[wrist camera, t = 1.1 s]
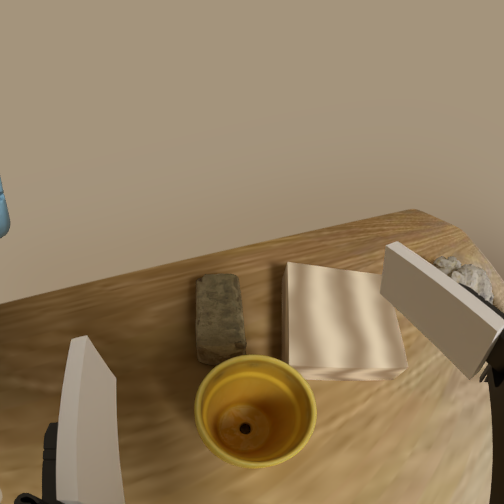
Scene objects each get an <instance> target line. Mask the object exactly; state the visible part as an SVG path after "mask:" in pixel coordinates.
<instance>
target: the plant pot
mask: <svg viewBox="0 0 504 504" xmlns="http://www.w3.org/2000/svg"><path fill="white" fill-rule="evenodd" d="M194 416H195V423H196V427H197V430H198V433H199V435H200V437H201V439H202V441H203V442H204V444H205V445H206V447H207V448H208V449H209V450H210V451H211V452H212V453H213V454H214V455H215V456H217V457H218V458H220V459H221V460H223V461H225V462H227V463H229V464H231V465H234V466H238V467H243V468H264V467H270V466H274V465H277V464H280V463H282V462H284V461H286V460H288V459H290V458H292V457H293V456H295V455H296V454H297V453H298V452H299V451H300V450H301V449H302V448H303V447H304V446H305V445H306V444H307V442H308V441H309V439H310V437H311V435H312V433H313V430H314V427H315V424H316V417H317V408H316V402H315V398H314V395H313V392H312V390H311V388H310V386H309V384H308V383H307V381H306V380H305V379H304V377H303V376H302V375H301V374H300V373H299V372H298V371H297V370H295V369H294V368H293V367H291V366H290V365H288V364H287V363H285V362H283V361H281V360H278V359H276V358H273V357H269V356H265V355H255V354H250V355H242V356H237V357H234V358H231V359H228V360H226V361H224V362H222V363H220V364H219V365H217V366H216V367H215V368H213V369H212V370H211V371H210V372H209V373H208V374H207V375H206V377H205V378H204V379H203V381H202V382H201V384H200V386H199V388H198V391H197V394H196V398H195V404H194ZM242 424H247V425H249V426H250V428H251V431H250V433H249V434H243V433H241V431H240V426H241V425H242Z"/></svg>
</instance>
